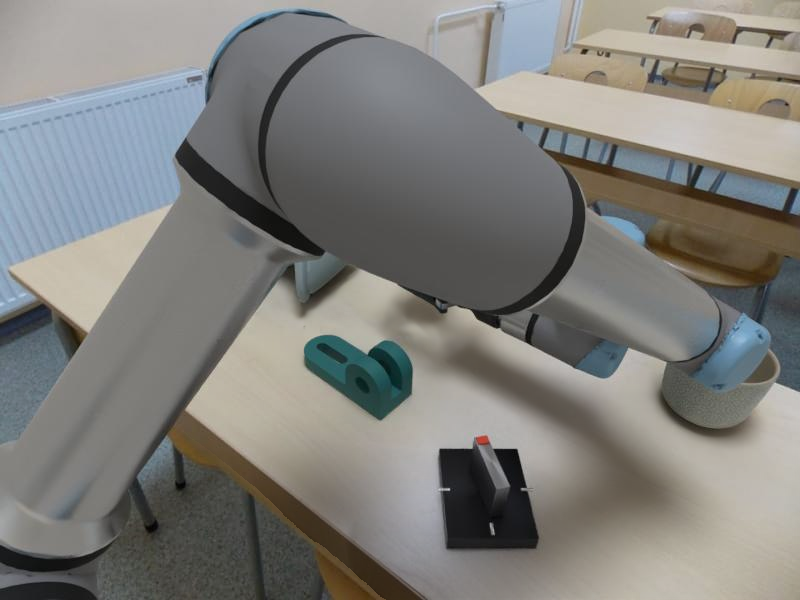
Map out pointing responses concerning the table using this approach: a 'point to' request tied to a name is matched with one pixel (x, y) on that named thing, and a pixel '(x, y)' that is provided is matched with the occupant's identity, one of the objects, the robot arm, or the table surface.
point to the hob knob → (489, 476)
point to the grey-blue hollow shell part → (315, 274)
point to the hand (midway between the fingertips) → (382, 247)
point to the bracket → (362, 372)
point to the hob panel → (468, 511)
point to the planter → (718, 395)
